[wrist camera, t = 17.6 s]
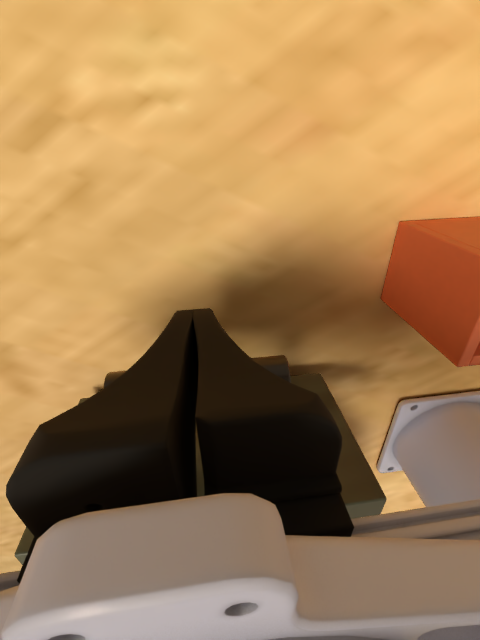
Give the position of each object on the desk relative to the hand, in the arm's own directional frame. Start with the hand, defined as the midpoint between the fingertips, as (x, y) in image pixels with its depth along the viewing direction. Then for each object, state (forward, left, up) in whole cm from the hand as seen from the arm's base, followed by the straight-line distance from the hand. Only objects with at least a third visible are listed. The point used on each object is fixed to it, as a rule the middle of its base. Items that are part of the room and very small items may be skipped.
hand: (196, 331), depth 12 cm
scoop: (-13, -1, -4) cm, 14 cm away
